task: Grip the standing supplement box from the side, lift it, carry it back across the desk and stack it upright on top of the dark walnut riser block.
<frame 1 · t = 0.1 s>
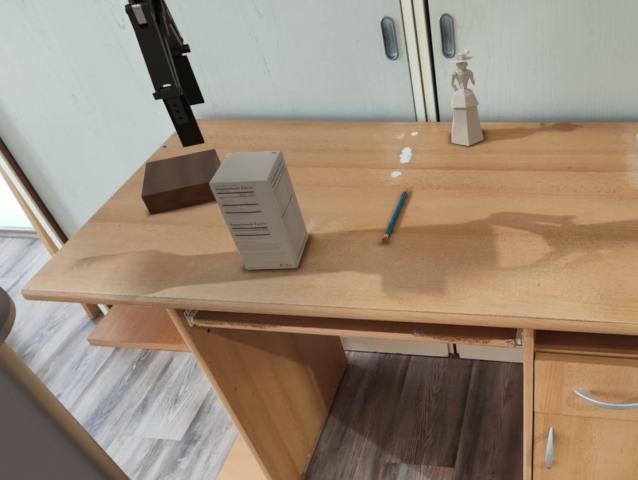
hand: (194, 123, 81), 26 cm above the table, tool pointing down, fingers open, 13 cm apart
pencil: (396, 215, 107), on the table
supplement box: (278, 253, 102), on the table
walnut riser: (187, 188, 120), on the table
figurine: (466, 138, 126), on the table
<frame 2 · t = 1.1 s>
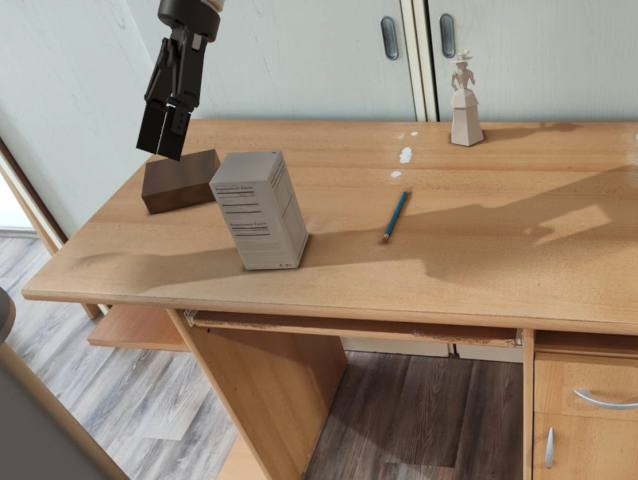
hand: (156, 154, 83), 22 cm above the table, tool tilted 45°, fingers open, 13 cm apart
nothing on the table moved.
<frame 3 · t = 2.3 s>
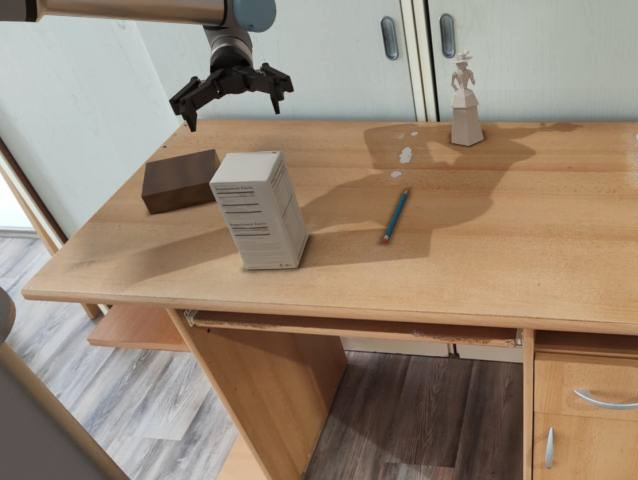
hand: (233, 115, 93), 21 cm above the table, tool horizontal, fingers open, 13 cm apart
nothing on the table moved.
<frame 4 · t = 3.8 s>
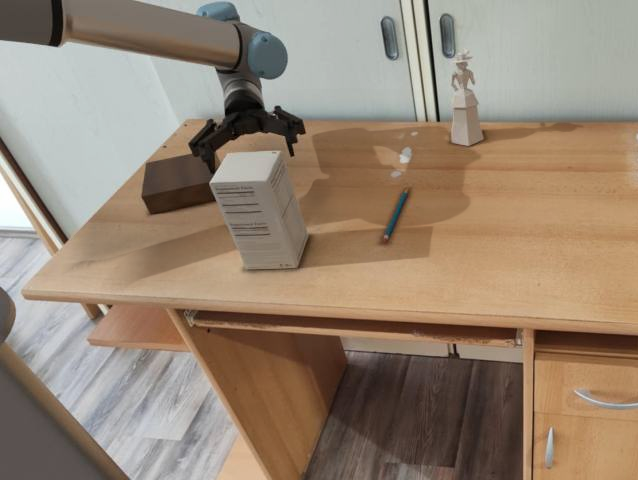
hand: (250, 158, 99), 13 cm above the table, tool horizontal, fingers open, 13 cm apart
nothing on the table moved.
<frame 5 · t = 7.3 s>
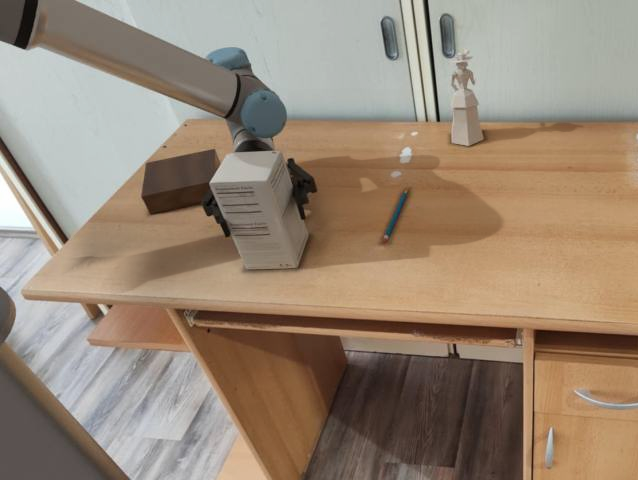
hand: (263, 221, 93), 9 cm above the table, tool horizontal, fingers closed on supplement box, 11 cm apart
supplement box: (278, 253, 102), on the table, touching gripper
everything else where it was.
when the fingers open (13 cm above the table, at t = 19.5 s): supplement box stays where it is, resting on walnut riser.
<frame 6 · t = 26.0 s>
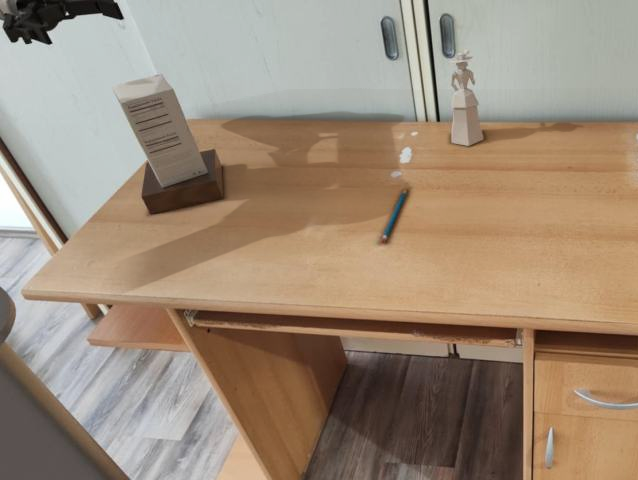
hand: (84, 23, 103), 30 cm above the table, tool horizontal, fingers open, 13 cm apart
supplement box: (180, 172, 117), point 4 cm above the table, touching walnut riser
walnut riser: (187, 189, 120), on the table, touching supplement box
everything else where it was.
at the end: supplement box 0.1 cm off-centre on the walnut riser, point 3.8 cm above the walnut riser's base; supplement box tilted 0°; the gripper is holding nothing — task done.
